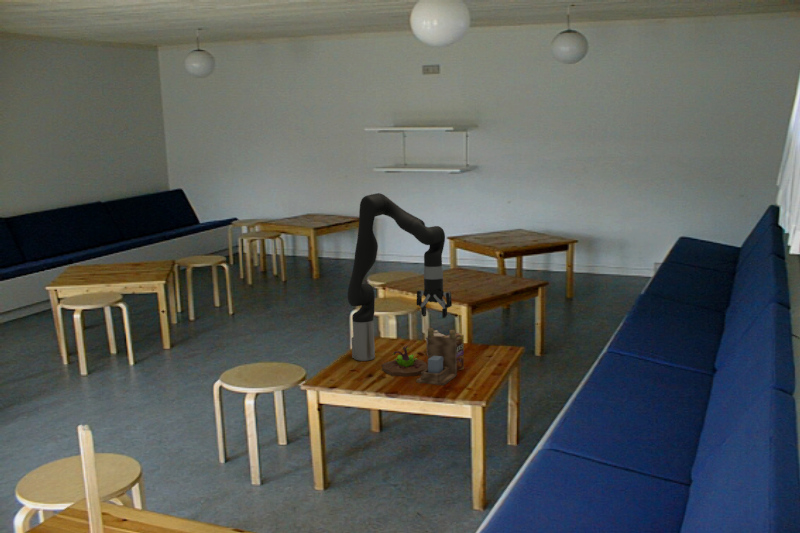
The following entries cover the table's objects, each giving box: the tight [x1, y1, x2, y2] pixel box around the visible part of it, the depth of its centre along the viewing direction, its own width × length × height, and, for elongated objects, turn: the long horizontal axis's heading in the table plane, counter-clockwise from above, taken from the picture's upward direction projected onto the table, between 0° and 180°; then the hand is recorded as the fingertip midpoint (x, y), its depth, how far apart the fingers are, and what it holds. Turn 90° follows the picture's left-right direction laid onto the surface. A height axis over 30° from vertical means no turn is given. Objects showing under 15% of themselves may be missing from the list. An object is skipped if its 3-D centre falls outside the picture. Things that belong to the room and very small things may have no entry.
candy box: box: [445, 332, 465, 372], centre depth 314 cm, size 9×4×15 cm, turn 123°
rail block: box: [427, 356, 444, 374], centre depth 303 cm, size 4×7×8 cm, turn 154°
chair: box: [415, 327, 458, 386], centre depth 303 cm, size 12×14×19 cm
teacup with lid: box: [425, 329, 446, 356], centre depth 335 cm, size 12×9×12 cm
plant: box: [381, 345, 428, 377], centre depth 317 cm, size 20×20×11 cm
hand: (434, 316), depth 299 cm, fingers open, 8 cm apart
